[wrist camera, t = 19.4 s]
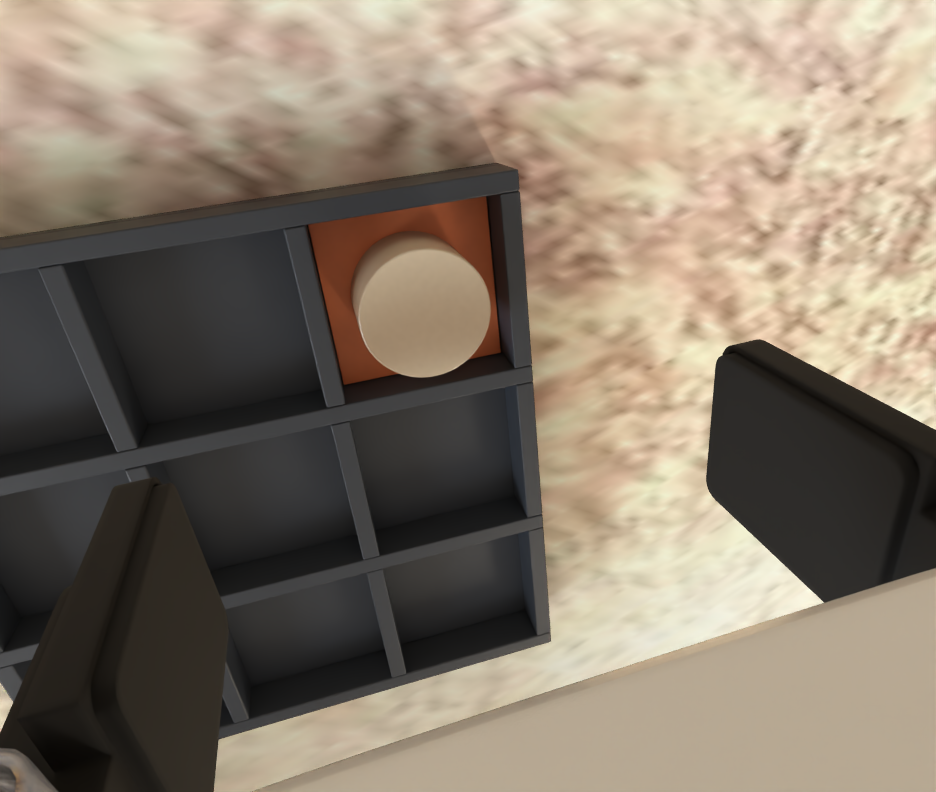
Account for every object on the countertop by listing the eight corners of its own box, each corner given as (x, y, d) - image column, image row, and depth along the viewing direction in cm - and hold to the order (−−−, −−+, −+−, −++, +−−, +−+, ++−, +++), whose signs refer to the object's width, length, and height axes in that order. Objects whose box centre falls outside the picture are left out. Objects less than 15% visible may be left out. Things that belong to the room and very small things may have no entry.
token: (339, 241, 22) (345, 261, 19) (462, 221, 22) (484, 237, 20) (362, 357, 24) (371, 390, 21) (474, 335, 24) (497, 364, 22)
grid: (-201, 267, 19) (-263, 288, 17) (497, 162, 23) (518, 168, 21) (83, 734, 29) (67, 784, 27) (534, 606, 33) (551, 642, 30)
